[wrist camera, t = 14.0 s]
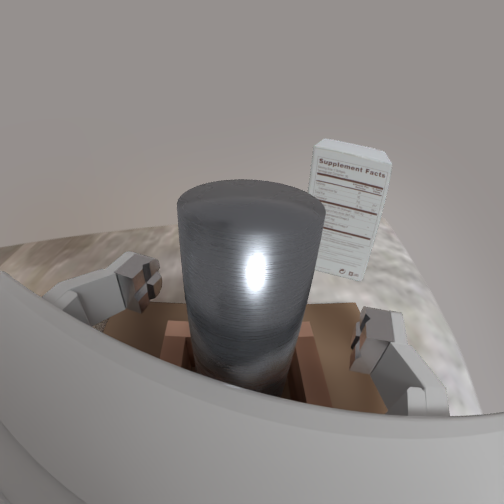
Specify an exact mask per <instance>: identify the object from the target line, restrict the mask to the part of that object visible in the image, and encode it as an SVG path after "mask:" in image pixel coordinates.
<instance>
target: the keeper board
mask: <svg viewBox="0 0 504 504" xmlns="http://www.w3.org/2000/svg"><path fill="white" fill-rule="evenodd" d="M359 321H360V311H359V309H358V307H357V305H356V303H333V304H306V309H305V313H304V317H303V320H302V324H301V328H300V332H299V336H298V340H297V343H296V347H295V350H294V354H293V358H292V361H291V365H290V368H289V371H288V375H287V378H286V382H285V385H284V388H283V391H282V395H281V398H284V399H289V400H293V401H298V402H303V403H308V404H313V405H319V406H324V407H330V408H336V409H343V410H350V411H358V412H366V413H376V414H385V413H386V412H387V411H388V410H387V408H386V406H385V404H384V402H383V400H382V398H381V396H380V394H379V392H378V390H377V388H376V386H375V384H374V382H373V380H372V378H371V376H370V374H365V373H359V372H354V371H349V365H350V355H351V353H352V351H353V350H352V349H351V338H352V334H353V330H354V327H355V325H356V323H357V322H359ZM103 333H104V334H106V335H108V336H110V337H112V338H114V339H116V340H118V341H121V342H123V343H125V344H127V345H129V346H131V347H133V348H136V349H138V350H140V351H142V352H145V353H147V354H149V355H152V356H154V357H156V358H159V359H161V360H164V361H166V362H169V363H171V364H174V365H176V366H179V367H181V368H184V369H187V370H190V371H192V372H195V373H196V367H195V361H194V355H193V349H192V343H191V336H190V329H189V322H188V315H187V307H186V304H183V303H161V302H150V305H149V306H148V307H147V308H146V309H145V310H144V312H143V313H142V314H140V313H138V312H135V311H132V310H129V309H125V310H123V311H121V312H119V313H117V314H115V315H113V316H111V317H110V318H109V319H108V321H107V323H106V326H105V328H104V331H103Z"/></svg>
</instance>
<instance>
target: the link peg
mask: <svg viewBox="0 0 504 504" xmlns="http://www.w3.org/2000/svg"><path fill="white" fill-rule="evenodd" d="M177 211H178V227H179V240H180V252H181V263H182V273H183V282H184V291H185V299H186V307H187V315H188V322H189V329H190V336H191V343H192V349H193V355H194V361H195V367H196V373H198V374H201V375H204V376H207V377H210V378H213V379H216V380H219V381H222V382H225V383H228V384H231V385H235V386H238V387H242V388H245V389H249V390H252V391H256V392H260V393H264V394H268V395H272V396H276V397H280V398H281V395H282V391H283V388H284V385H285V382H286V378H287V375H288V371H289V368H290V365H291V361H292V358H293V354H294V350H295V347H296V343H297V340H298V336H299V332H300V328H301V324H302V320H303V317H304V313H305V309H306V304H307V300H308V296H309V292H310V288H311V283H312V279H313V275H314V270H315V266H316V261H317V256H318V252H319V247H320V242H321V237H322V232H323V227H324V221H325V216H326V210H325V207H324V205H323V204H322V203H321V202H320V201H319V200H318V199H317V198H316V197H314V196H312V195H311V194H309V193H307V192H305V191H303V190H300V189H298V188H295V187H291V186H288V185H284V184H280V183H275V182H269V181H260V180H244V179H241V180H240V179H239V180H224V181H216V182H211V183H206V184H202V185H199V186H197V187H194V188H192V189H190V190H188V191H187V192H185V193H184V194H182V195H181V196H180V198H179V199H178V202H177Z"/></svg>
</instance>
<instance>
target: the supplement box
mask: <svg viewBox="0 0 504 504" xmlns="http://www.w3.org/2000/svg"><path fill="white" fill-rule="evenodd" d="M391 171H392V162H391V161H390V159H389V157H388V156H387V154H386V152H384V151H381V150H378V149H374V148H370V147H366V146H361V145H356V144H351V143H347V142H342V141H337V140H332V139H323V140H322V141H320V142H319V143H317V144H316V145H314V147H313V156H312V164H311V172H310V181H309V187H308V193H309V194H311V195H312V196H314V197H316V198H317V199H318V200H319V201H320V202H321V203H322V204H323V205H324V207H325V210H326V216H325V221H324V227H323V232H322V237H321V242H320V247H319V252H318V256H317V261H316V266H315V270H318V271H321V272H325V273H329V274H333V275H336V276H340V277H344V278H348V279H352V280H356V281H362V279H363V277H364V274H365V270H366V267H367V264H368V261H369V257H370V254H371V251H372V247H373V244H374V241H375V237H376V234H377V230H378V227H379V223H380V219H381V215H382V211H383V208H384V203H385V200H386V195H387V191H388V187H389V182H390V177H391Z"/></svg>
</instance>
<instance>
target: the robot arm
mask: <svg viewBox="0 0 504 504" xmlns="http://www.w3.org/2000/svg"><path fill="white" fill-rule="evenodd" d="M159 269H160V265H159V261H158V260H157V259H155V258H152V257H148V256H145V255H142V254H137V253H134V252H131V251H127V252H125V253H124V254H123V255H121V256H120V257H119V258H118V259H116V260H115V261H114V262H113V263H112V264H110V265H109V266H108V267H107V268H106V269H105V270H104V269H100V270H96V271H93V272H90V273H87V274H84V275H81V276H78V277H75V278H72V279H68V280H65V281H62V282H59V283H57V284H56V285H55V286H54V287H53V288H52V289H50V290H49V291H48V292H47V293H46V294H45V295H44V296H42V297H40V296H38V295H37V294H35V293H34V292H32V291H31V290H29V289H28V288H27V287H25V286H24V285H22V284H21V283H19V282H18V281H17V280H15V279H14V278H12V277H11V276H10V275H9V274H7V273H6V272H4V271H0V504H504V412H501V413H493V414H483V415H470V416H450V413H449V405H448V397H447V390H446V387H445V386H444V385H443V384H442V382H441V381H440V380H439V379H438V377H437V376H436V375H435V374H434V372H433V371H432V370H431V369H430V367H429V366H428V365H427V364H426V362H425V361H424V360H423V359H422V357H421V356H420V355H419V354H418V353H417V351H416V350H415V349H414V348H413V347H412V345H408V342H407V336H406V330H405V324H404V319H403V314H402V313H401V312H395V311H387V310H381V309H376V308H370V307H365V306H364V307H363V308H362V310H361V313H360V321H359V322H357V323H356V325H355V327H354V330H353V334H352V338H351V349H352V350H353V351H352V353H351V355H350V365H349V371H354V372H359V373H365V374H370V376H371V378H372V380H373V382H374V384H375V386H376V388H377V390H378V392H379V394H380V396H381V398H382V400H383V402H384V404H385V406H386V408H387V410H388V411H387V412H386V413H385V414H376V413H366V412H358V411H350V410H343V409H336V408H330V407H324V406H319V405H313V404H308V403H303V402H298V401H293V400H289V399H284V398H280V397H276V396H272V395H268V394H264V393H260V392H256V391H252V390H249V389H245V388H242V387H238V386H235V385H231V384H228V383H225V382H222V381H219V380H216V379H213V378H210V377H207V376H204V375H201V374H198V373H195V372H192V371H190V370H187V369H184V368H181V367H179V366H176V365H174V364H171V363H169V362H166V361H164V360H161V359H159V358H156V357H154V356H152V355H149V354H147V353H145V352H142V351H140V350H138V349H136V348H133V347H131V346H129V345H127V344H125V343H123V342H121V341H118V340H116V339H114V338H112V337H110V336H108V335H106V334H104V333H102V332H100V331H98V330H97V329H95V328H93V327H92V326H94V325H96V324H98V323H100V322H102V321H104V320H106V319H108V318H110V317H111V316H113V315H115V314H117V313H119V312H121V311H123V310H125V309H129V310H132V311H135V312H138V313H140V314H142V313H143V312H144V310H145V309H146V308H147V307H148V306H149V305H150V299H153V298H155V297H156V296H157V295H158V294H159V293H160V290H161V287H162V277H161V275H160V274H159V272H158V270H159Z"/></svg>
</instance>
